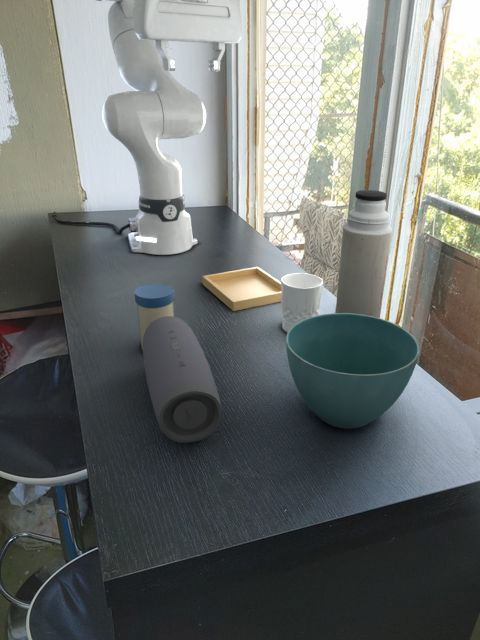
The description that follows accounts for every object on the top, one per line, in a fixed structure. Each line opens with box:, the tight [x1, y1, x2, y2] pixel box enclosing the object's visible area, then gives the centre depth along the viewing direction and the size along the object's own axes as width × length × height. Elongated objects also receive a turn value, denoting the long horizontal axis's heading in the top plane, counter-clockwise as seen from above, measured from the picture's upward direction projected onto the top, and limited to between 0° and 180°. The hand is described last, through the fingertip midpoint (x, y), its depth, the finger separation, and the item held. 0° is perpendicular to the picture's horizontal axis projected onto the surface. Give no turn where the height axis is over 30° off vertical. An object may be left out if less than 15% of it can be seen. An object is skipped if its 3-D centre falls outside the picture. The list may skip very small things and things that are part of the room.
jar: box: [136, 301, 175, 351], centre depth 93 cm, size 6×6×10 cm
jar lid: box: [134, 283, 175, 308], centre depth 90 cm, size 7×7×2 cm
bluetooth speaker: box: [142, 316, 223, 443], centre depth 77 cm, size 23×9×10 cm, turn 17°
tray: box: [201, 266, 281, 312], centre depth 118 cm, size 17×15×2 cm
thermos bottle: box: [334, 189, 393, 319], centre depth 90 cm, size 8×8×28 cm
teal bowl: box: [285, 312, 420, 430], centre depth 75 cm, size 18×18×12 cm
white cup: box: [280, 272, 324, 333], centre depth 100 cm, size 8×8×10 cm
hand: (192, 71), depth 95 cm, fingers open, 8 cm apart
